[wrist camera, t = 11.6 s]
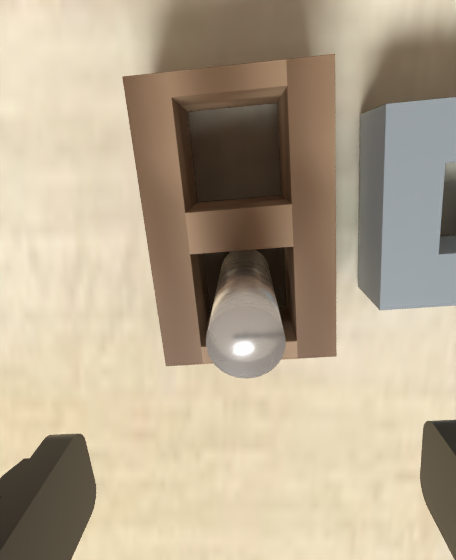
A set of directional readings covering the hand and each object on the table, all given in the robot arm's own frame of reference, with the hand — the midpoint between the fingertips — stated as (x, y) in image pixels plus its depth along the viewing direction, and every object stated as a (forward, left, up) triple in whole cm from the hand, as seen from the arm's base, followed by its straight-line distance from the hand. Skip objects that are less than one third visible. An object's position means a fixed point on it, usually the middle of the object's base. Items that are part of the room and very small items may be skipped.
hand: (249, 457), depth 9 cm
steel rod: (0, 0, -16) cm, 16 cm away
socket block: (-12, -4, -16) cm, 20 cm away
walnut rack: (0, -4, -16) cm, 16 cm away
